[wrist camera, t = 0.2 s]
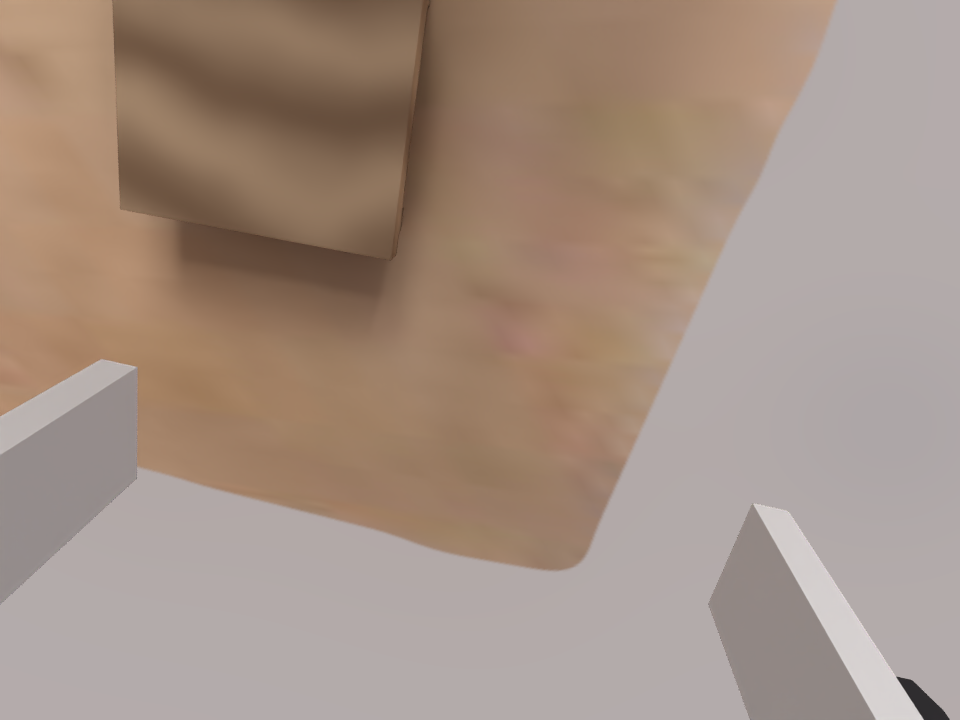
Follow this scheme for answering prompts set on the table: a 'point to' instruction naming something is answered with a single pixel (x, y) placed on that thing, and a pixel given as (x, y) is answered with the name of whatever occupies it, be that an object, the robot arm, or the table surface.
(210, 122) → the footstool
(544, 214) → the table surface
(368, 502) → the table surface
